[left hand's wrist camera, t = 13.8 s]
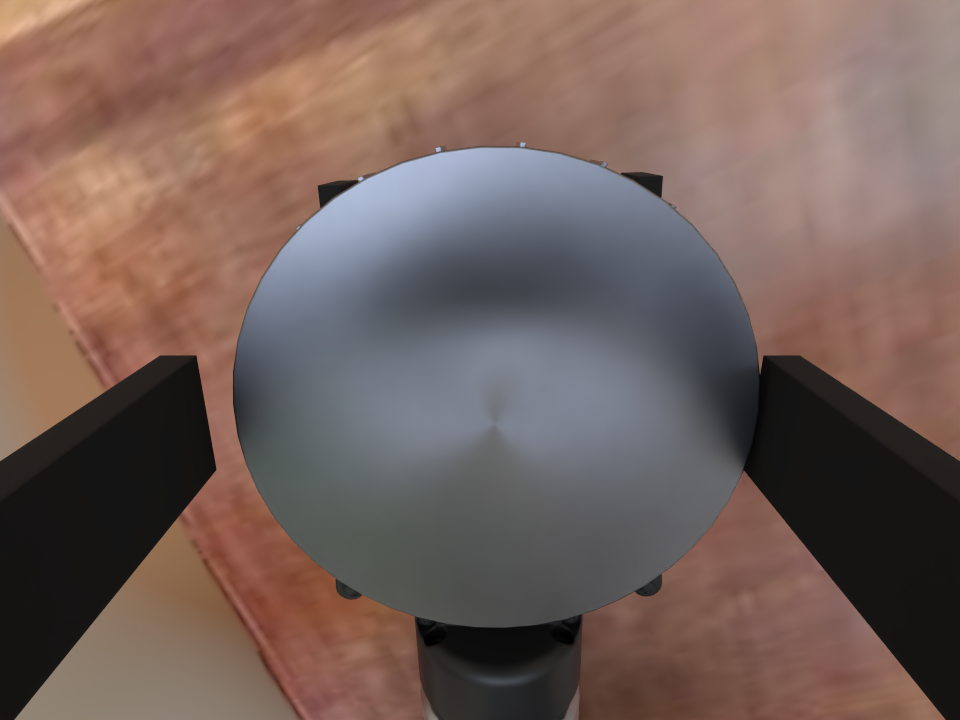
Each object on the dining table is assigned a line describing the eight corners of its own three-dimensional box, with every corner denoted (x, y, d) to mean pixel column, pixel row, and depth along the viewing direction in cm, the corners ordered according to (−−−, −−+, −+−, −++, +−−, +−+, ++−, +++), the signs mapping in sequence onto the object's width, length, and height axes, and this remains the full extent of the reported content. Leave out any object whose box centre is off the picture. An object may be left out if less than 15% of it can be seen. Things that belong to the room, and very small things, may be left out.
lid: (708, 564, 16) (738, 621, 14) (302, 579, 16) (278, 637, 14) (749, 128, 12) (797, 125, 10) (220, 160, 13) (172, 162, 11)
